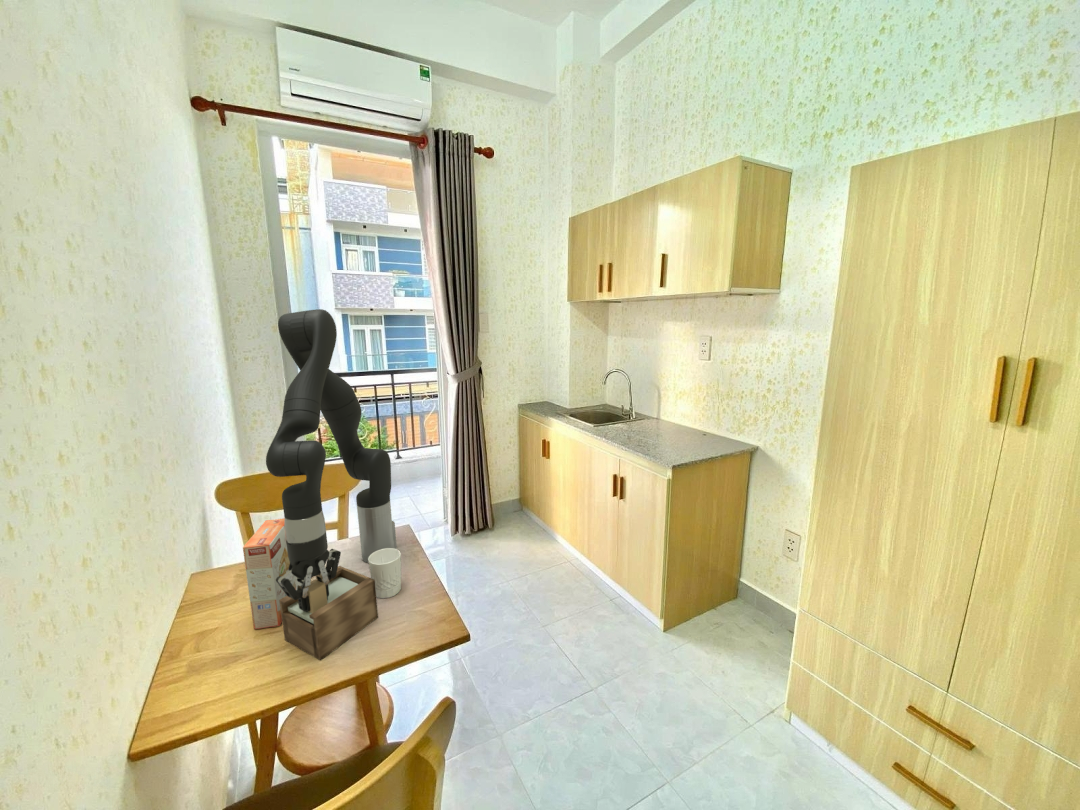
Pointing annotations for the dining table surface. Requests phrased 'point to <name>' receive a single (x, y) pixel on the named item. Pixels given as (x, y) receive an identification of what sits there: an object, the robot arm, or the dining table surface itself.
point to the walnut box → (332, 617)
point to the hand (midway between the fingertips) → (314, 604)
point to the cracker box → (266, 572)
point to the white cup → (386, 571)
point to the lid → (322, 596)
